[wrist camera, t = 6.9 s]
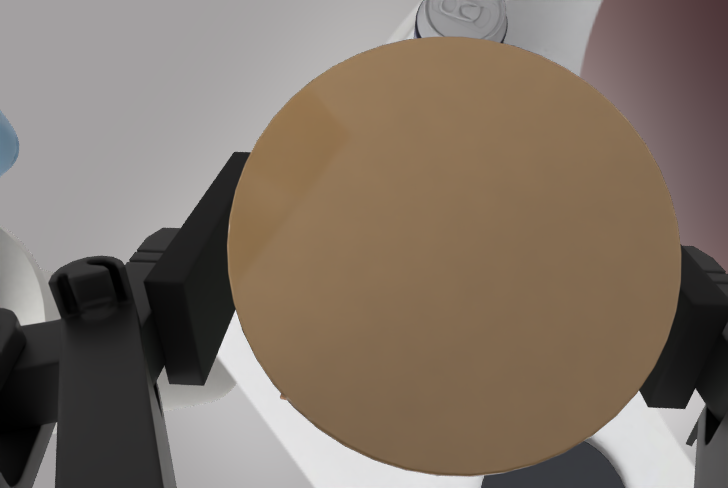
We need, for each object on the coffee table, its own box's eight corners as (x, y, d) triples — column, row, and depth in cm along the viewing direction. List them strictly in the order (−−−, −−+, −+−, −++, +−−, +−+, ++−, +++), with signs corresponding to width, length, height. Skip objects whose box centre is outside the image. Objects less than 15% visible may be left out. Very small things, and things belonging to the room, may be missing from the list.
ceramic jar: (299, 385, 19) (167, 413, 7) (341, 216, 20) (289, 2, 8) (478, 427, 18) (660, 533, 6) (507, 250, 20) (700, 75, 8)
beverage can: (461, 148, 42) (494, 63, 30) (396, 124, 43) (403, 31, 31) (485, 89, 43) (525, -15, 31) (421, 66, 44) (436, -44, 32)
